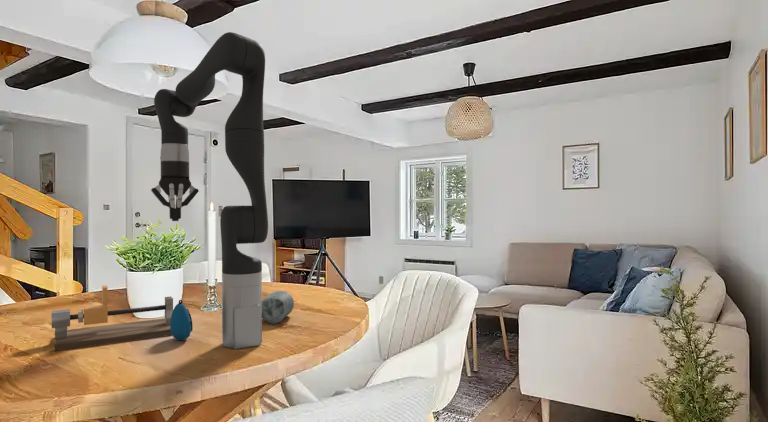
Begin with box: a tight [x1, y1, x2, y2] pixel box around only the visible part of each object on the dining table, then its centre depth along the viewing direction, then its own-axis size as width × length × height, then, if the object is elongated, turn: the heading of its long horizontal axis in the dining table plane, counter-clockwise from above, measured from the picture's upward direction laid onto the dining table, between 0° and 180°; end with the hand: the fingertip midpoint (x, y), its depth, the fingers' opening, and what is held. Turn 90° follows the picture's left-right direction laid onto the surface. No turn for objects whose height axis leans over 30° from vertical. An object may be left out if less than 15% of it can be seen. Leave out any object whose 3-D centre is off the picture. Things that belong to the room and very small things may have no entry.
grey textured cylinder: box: [262, 290, 295, 325], centre depth 136 cm, size 14×10×10 cm
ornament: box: [170, 299, 194, 341], centre depth 116 cm, size 8×5×10 cm, turn 41°
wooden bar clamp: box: [51, 295, 174, 352], centre depth 120 cm, size 14×27×8 cm, turn 123°
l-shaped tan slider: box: [83, 284, 109, 326], centre depth 117 cm, size 4×5×9 cm
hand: (175, 220), depth 134 cm, fingers closed
